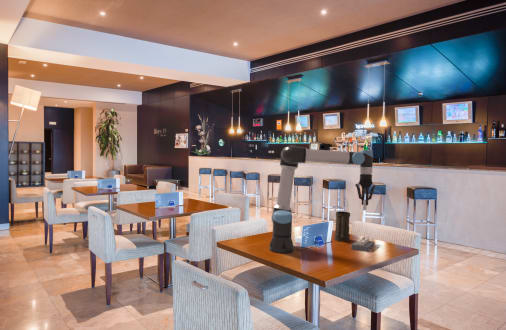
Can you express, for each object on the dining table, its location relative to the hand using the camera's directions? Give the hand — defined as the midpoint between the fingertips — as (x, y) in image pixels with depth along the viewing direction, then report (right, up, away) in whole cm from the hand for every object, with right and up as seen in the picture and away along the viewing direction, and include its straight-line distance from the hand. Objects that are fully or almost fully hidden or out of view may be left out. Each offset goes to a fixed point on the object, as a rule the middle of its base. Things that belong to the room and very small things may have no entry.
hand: (364, 210), depth 228 cm
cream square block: (-1, -21, 0) cm, 21 cm away
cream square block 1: (-4, -21, -4) cm, 22 cm away
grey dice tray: (-1, -24, 0) cm, 24 cm away
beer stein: (-10, -24, +18) cm, 32 cm away
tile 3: (+2, -21, +5) cm, 22 cm away
